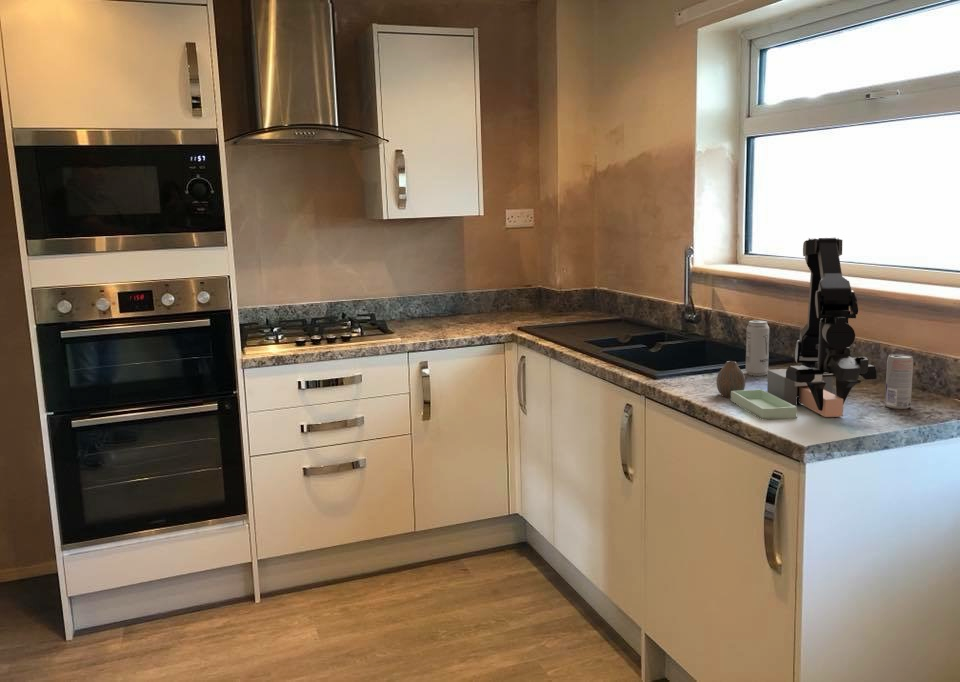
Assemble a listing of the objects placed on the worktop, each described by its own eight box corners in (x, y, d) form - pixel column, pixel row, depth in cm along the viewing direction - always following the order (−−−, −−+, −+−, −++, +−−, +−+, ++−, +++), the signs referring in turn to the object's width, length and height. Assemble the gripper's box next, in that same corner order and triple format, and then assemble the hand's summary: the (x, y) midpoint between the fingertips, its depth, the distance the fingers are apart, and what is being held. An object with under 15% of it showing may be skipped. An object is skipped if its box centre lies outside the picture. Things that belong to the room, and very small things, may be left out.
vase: (710, 394, 205) (711, 361, 203) (732, 391, 207) (732, 358, 206) (728, 400, 198) (729, 365, 197) (750, 397, 201) (751, 362, 200)
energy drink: (902, 403, 190) (905, 353, 188) (915, 408, 185) (918, 357, 183) (880, 404, 190) (882, 354, 188) (892, 409, 185) (895, 358, 183)
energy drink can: (765, 377, 223) (766, 323, 220) (743, 375, 226) (744, 322, 223) (770, 372, 228) (771, 320, 225) (748, 371, 231) (749, 319, 228)
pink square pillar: (798, 402, 193) (799, 386, 193) (814, 401, 193) (815, 385, 193) (824, 417, 179) (825, 399, 179) (842, 416, 180) (843, 398, 179)
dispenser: (767, 397, 200) (767, 369, 199) (813, 394, 201) (814, 367, 200) (784, 406, 191) (785, 377, 189) (833, 404, 192) (834, 375, 190)
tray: (730, 400, 198) (730, 390, 197) (761, 399, 198) (762, 389, 198) (762, 419, 180) (762, 408, 180) (796, 417, 181) (796, 407, 180)
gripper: (810, 349, 170) (807, 420, 173) (894, 345, 172) (890, 416, 174) (785, 341, 181) (783, 408, 184) (864, 338, 183) (861, 404, 185)
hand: (829, 409), depth 181 cm, fingers closed on pink square pillar, 4 cm apart
